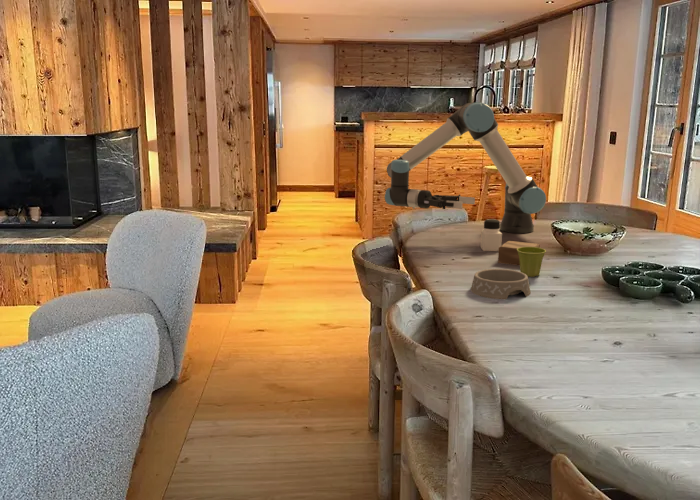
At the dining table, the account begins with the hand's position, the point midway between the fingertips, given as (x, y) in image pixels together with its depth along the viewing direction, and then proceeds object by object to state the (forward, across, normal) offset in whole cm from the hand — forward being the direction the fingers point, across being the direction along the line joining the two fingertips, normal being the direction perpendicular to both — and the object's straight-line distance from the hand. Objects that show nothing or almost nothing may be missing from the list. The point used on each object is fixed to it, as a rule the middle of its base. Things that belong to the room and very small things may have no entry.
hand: (468, 203), depth 249 cm
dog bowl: (+32, +53, -18) cm, 64 cm away
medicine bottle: (+10, 0, -18) cm, 21 cm away
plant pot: (+34, +30, -18) cm, 49 cm away
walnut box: (+25, +13, -18) cm, 34 cm away
